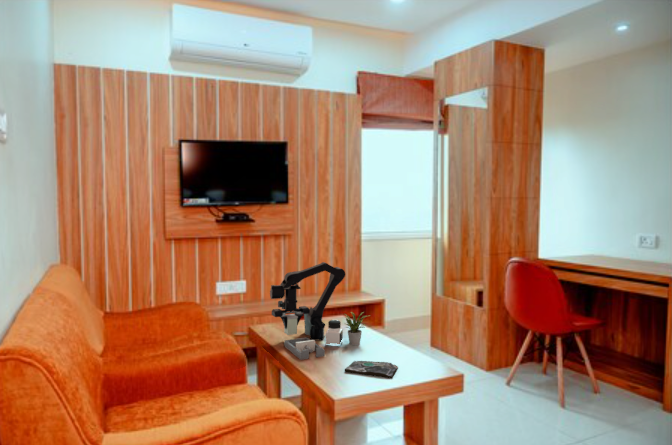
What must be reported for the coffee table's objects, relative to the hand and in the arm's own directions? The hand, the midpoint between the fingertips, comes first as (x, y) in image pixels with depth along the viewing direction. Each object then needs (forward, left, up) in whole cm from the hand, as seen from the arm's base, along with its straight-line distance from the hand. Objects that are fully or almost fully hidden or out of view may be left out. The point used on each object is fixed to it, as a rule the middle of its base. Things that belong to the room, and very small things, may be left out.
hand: (290, 328), depth 243 cm
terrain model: (-44, +32, -7) cm, 55 cm away
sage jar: (0, 0, -3) cm, 3 cm away
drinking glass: (-9, -15, -7) cm, 19 cm away
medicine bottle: (-23, +2, -7) cm, 24 cm away
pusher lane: (-10, +14, -6) cm, 19 cm away
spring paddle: (-13, +18, -6) cm, 23 cm away
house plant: (-34, -2, -7) cm, 34 cm away
